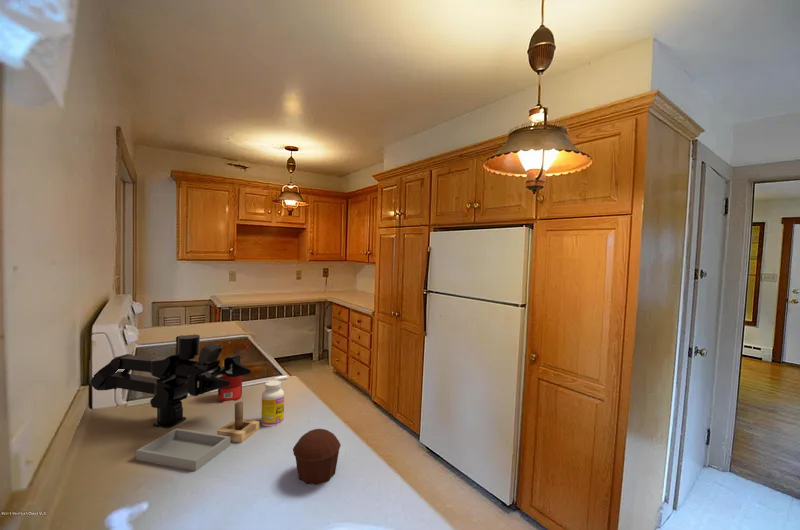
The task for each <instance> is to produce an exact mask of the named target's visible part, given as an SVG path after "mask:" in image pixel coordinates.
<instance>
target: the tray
mask: <svg viewBox="0 0 800 530" xmlns="http://www.w3.org/2000/svg"><path fill="white" fill-rule="evenodd" d="M229 447H231V441H230V437H229V436H222V435H217V433H216V434H214V433H208V432H204V431H203V432H202V431H197V430H191V429H190V430H189V429H183V428H179V427H178V428H177V427H175V428H174V429H172V430H170V431H168V432H167V433H165V434H163V435H161V436H160V437H158V438H156V439H154V440H152V441H150V442H149V443H147V444H145V445H143V446H141V447H140V448H138V449H136V451H135V452H136V453H135V456H136V458H135V459H136V461H141V462H146V463H151V464H158V465H162V466H166V467H167V466H168V467H171V468H178V469H184V470H187V471H193V472H197V471H198V470H200V469H201V468H202V467H203V466H205V465H206V464H208V463H209V462H211V461H212V460H213V459H214V458H216V457H218V455H220V454H221V453H222V452H224V451H225V450H226V449H228V448H229Z"/></svg>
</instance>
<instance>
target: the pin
mask: <svg viewBox="0 0 800 530" xmlns="http://www.w3.org/2000/svg"><path fill="white" fill-rule="evenodd" d="M234 419H235V430H242V429H243V419H244V402H243V401H237V402H235V403H234Z"/></svg>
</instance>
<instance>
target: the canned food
mask: <svg viewBox="0 0 800 530" xmlns="http://www.w3.org/2000/svg"><path fill="white" fill-rule="evenodd" d="M219 378H221V379H225V380H228V381H230V385H228V386H225V387H222V388H219V389H217V398H218V401H219V402H220V403H225V402H229V401H238V400H240V399H241V398H242V395H243V375H242V376H237V377H233V378H232V377H227V376H226V375H223V376H221V377H219Z"/></svg>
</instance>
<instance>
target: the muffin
mask: <svg viewBox="0 0 800 530" xmlns="http://www.w3.org/2000/svg"><path fill="white" fill-rule="evenodd" d="M341 446H342V445H341V442H340V441H339V439H338V438H337V436H336V435H335V434H334V433H333V432H331V431H329V430H328V429H324V428H315V429H311V430H309V431H307V432H306V433H304V434H303V435H302V436H301V437H300V438H299V439H298V440H297V442H296V443H295V445H294V446H293V448H292V451H293V456H294V457H295V462H296V471H297V476H298V480H299V481H300V482H303V483H304V484H305V485H316V486H319V485H321V484H323V483H326V482H329V481H330V480H331V479H332V478H333V477H334V476H335V474H336V470H337V463H338V461H339V459H338V458H339V453H340V448H341Z"/></svg>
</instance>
